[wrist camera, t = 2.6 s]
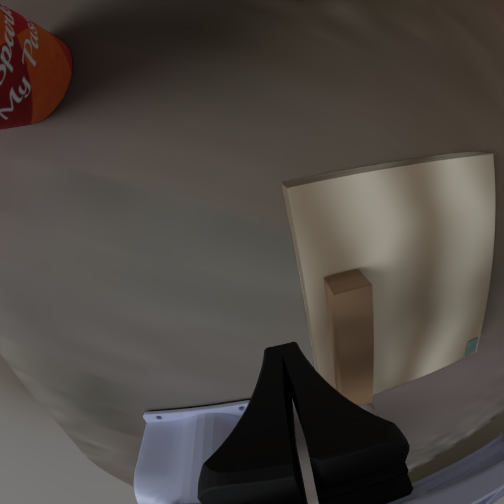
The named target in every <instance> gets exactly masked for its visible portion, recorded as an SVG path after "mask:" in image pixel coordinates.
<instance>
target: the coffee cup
mask: <svg viewBox="0 0 504 504" xmlns="http://www.w3.org/2000/svg"><path fill="white" fill-rule="evenodd" d="M72 69H73V63H72V56H71V53H70V51H69V49H68V47H67V46H66V45H65V44H64V43H63V42H62V41H61V40H60V39H58V38H57V37H55V36H54V35H52V34H51V33H49V32H48V31H46V30H45V29H43V28H42V27H40V26H38V25H37V24H35V23H33V22H32V21H30V20H28V19H27V18H25V17H23V16H21V15H20V14H18V13H16V12H14V11H13V10H11V9H9V8H7V7H6V6H4V5H2V4H0V129H7V128H13V127H20V126H26V125H31V124H34V123H37V122H40V121H42V120H43V119H45V118H46V117H48V116H49V115H50V114H51V113H52V112H53V111H54V110H55V109H56V108H57V107H58V105H59V104H60V102H61V101H62V99H63V98H64V96H65V94H66V92H67V89H68V87H69V84H70V80H71V76H72Z"/></svg>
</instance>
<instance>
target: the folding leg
mask: <svg viewBox="0 0 504 504" xmlns="http://www.w3.org/2000/svg"><path fill="white" fill-rule="evenodd" d="M323 279H324V286H325V293H326V301H327V308H328V316H329V325H330V333H331V342H332V352H333V362H334V373H335V384H336V390H337V391H338V392H339V393H341V394H342V395H343V396H345V397H346V398H347V399H349V400H350V401H352V402H353V403H355V404H356V405H358V406H360V407H361V408H363V409H365V410H366V411H368V412H370V413H372V414H374V415H376V416H377V413H376V411H375V409H374V407H373V404H372V397H373V370H374V319H373V292H372V284H371V283H370V282H369V281H368V279H367V278H366V277H365V276H364V275H363V274H362V273H361V271H360V270H359V269H355V270H351V271H347V272H343V273H339V274H336V275H332V276H328V277H324V278H323Z"/></svg>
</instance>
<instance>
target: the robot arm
mask: <svg viewBox="0 0 504 504" xmlns="http://www.w3.org/2000/svg"><path fill="white" fill-rule="evenodd" d="M292 399H293V402H294V405H295V408H296V411H297V414H298V417H299V420H300V424H301V427H302V430H303V433H304V436H305V440H306V443H307V448H308V453H309V457H310V462H311V467H312V472H313V477H314V482H315V487H316V491H317V496H318V501H319V504H493V503H494V502H496V501H497V500H499V499H500V498H501V497H503V496H504V433H503V435H501V436H500V437H498V438H497V439H495V440H494V441H492V442H491V443H489V444H487V445H486V446H484V447H483V448H481V449H479V450H477V451H476V452H474V453H472V454H471V455H469V456H467V457H465V458H464V459H462V460H460V461H458V462H456V463H454V464H452V465H450V466H449V467H447V468H445V469H443V470H441V471H439V472H437V473H434V474H433V475H430V476H428V477H426V478H424V479H421V480H419V481H417V482H414V483H412V484H411V481H410V479H409V477H408V474H407V473H408V468H407V466H406V463H405V461H406V458H407V455H408V452H409V444H408V441H407V439H406V438H405V436H404V435H403V433H402V432H401V431H400V429H399V428H398V427H397V426H396V425H395V424H394V423H392V422H390V421H387V420H385V419H383V418H380V417H378V416H376V415H374V414H372V413H370V412H368V411H366V410H365V409H363V408H361V407H360V406H358V405H356V404H355V403H353V402H352V401H350V400H349V399H347V398H346V397H345V396H343V395H342V394H341V393H339V392H338V391H337V390H336V389H334V388H333V387H332V386H331V385H330V384H329V383H328V382H327V381H326V380H325V379H324V378H323V377H322V376H321V375H320V374H319V373H318V372H317V371H316V370H315V369H314V367H313V366H312V365H311V364H310V363H309V361H308V360H307V359H306V357H305V356H304V355H303V353H302V352H301V350H300V348H299V346H298V344H297V343H296V342H291V343H287V344H283V345H278V346H274V347H269V348H266V349H265V350H264V359H263V364H262V368H261V372H260V375H259V378H258V381H257V384H256V387H255V389H254V392H253V394H252V397H251V399H250V400H246V401H240V402H233V403H227V404H220V405H213V406H205V407H197V408H188V409H177V410H166V411H152V412H145V413H144V415H143V418H144V419H145V421H146V422H147V424H146V428H145V432H144V436H143V440H142V444H141V448H140V452H139V456H138V461H137V465H136V469H135V474H134V490H135V496H136V500H137V502H138V504H308V503H307V498H306V493H305V488H304V483H303V477H302V472H301V467H300V462H299V456H298V451H297V446H296V438H295V426H294V415H293V403H292ZM241 406H243V407H241Z"/></svg>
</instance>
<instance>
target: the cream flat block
mask: <svg viewBox="0 0 504 504" xmlns="http://www.w3.org/2000/svg"><path fill="white" fill-rule="evenodd" d="M281 185H282V190H283V194H284V199H285V204H286V209H287V214H288V219H289V224H290V229H291V234H292V239H293V244H294V249H295V254H296V259H297V265H298V270H299V276H300V281H301V287H302V292H303V298H304V304H305V310H306V315H307V321H308V327H309V334H310V340H311V346H312V352H313V359H314V366H315V370H316V371H317V372H318V373H319V374H320V375H321V376H322V377H323V378H324V379H325V380H326V381H327V382H328V383H329V384H330V385H331V386H332V387H333V388H334V389H336V384H335V373H334V362H333V352H332V342H331V333H330V325H329V316H328V308H327V301H326V293H325V286H324V279H323V278H324V277H328V276H332V275H336V274H339V273H343V272H347V271H351V270H355V269H359V270H360V271H361V273H362V274H363V275H364V276H365V277H366V278H367V279H368V281H369V282H370V283H371V284H372V292H373V319H374V370H373V395H374V394H377V393H380V392H383V391H386V390H388V389H391V388H394V387H397V386H399V385H402V384H405V383H407V382H410V381H412V380H415V379H417V378H420V377H422V376H425V375H427V374H430V373H432V372H434V371H437V370H439V369H441V368H443V367H445V366H448V365H450V364H452V363H454V362H456V361H458V360H460V359H463V358H465V357H467V356H469V355H471V354H473V353H475V352H476V351H477V347H478V343H479V339H480V335H481V330H482V326H483V321H484V316H485V310H486V305H487V299H488V293H489V286H490V278H491V270H492V261H493V249H494V234H495V174H494V158H493V154H491V153H485V152H478V151H470V152H461V153H452V154H444V155H437V156H429V157H422V158H415V159H408V160H402V161H395V162H389V163H383V164H377V165H371V166H365V167H359V168H354V169H348V170H343V171H337V172H332V173H327V174H322V175H317V176H312V177H307V178H302V179H297V180H292V181H288V182H283V183H281Z"/></svg>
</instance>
